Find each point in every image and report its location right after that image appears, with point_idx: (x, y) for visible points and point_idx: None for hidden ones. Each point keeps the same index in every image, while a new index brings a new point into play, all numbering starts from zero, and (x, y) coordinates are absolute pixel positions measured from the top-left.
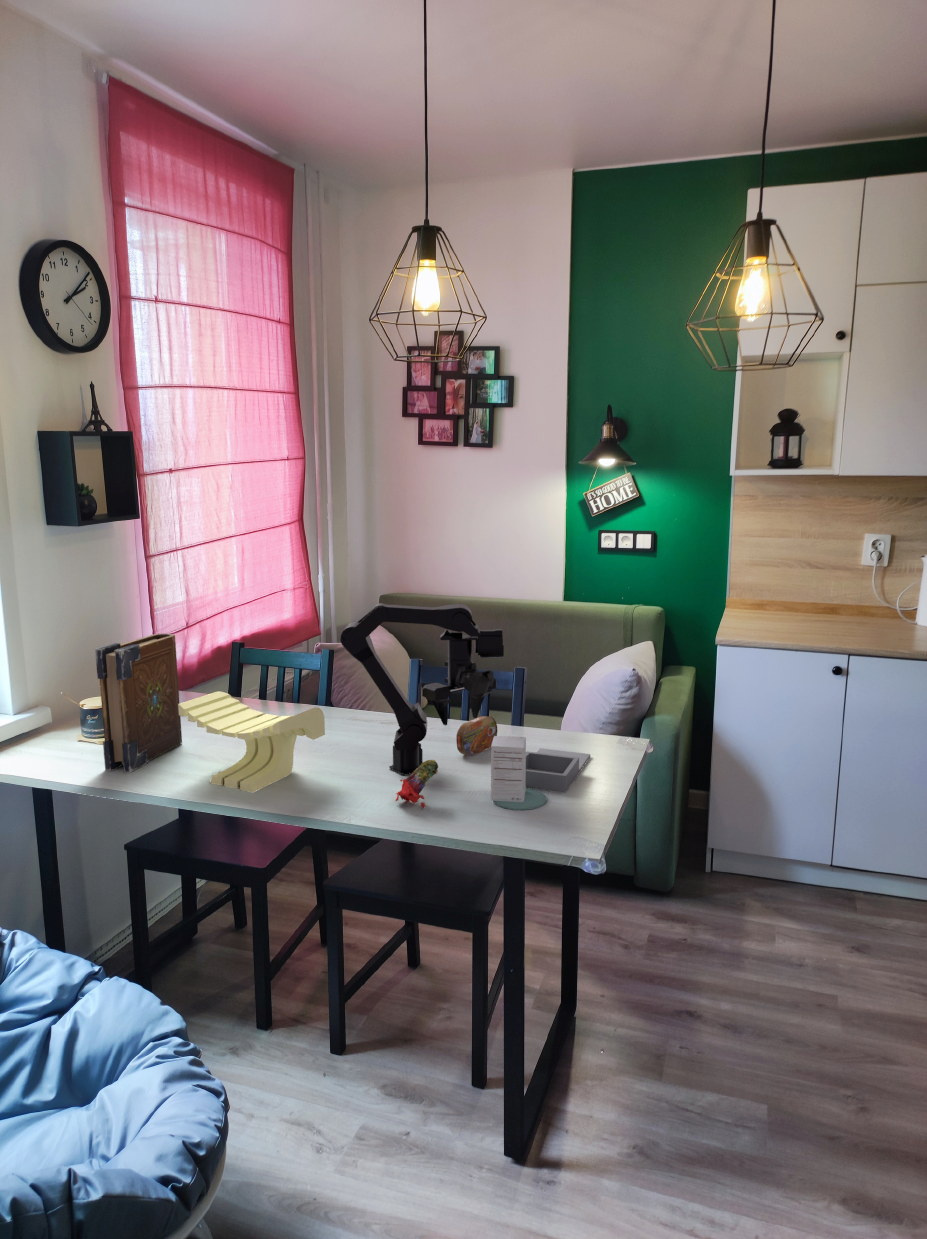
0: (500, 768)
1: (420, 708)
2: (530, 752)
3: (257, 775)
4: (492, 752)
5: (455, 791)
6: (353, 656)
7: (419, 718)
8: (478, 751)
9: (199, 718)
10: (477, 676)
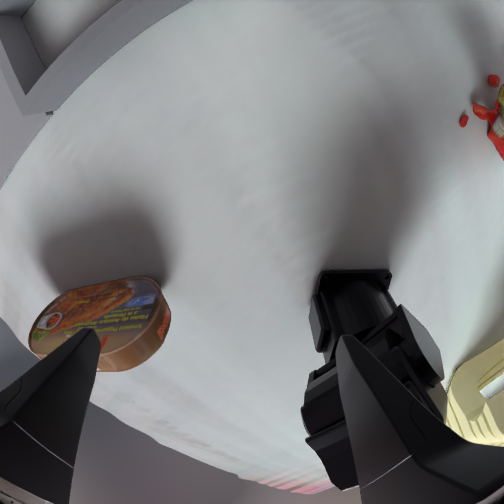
0: None
1: (345, 466)
2: (21, 100)
3: (499, 359)
4: None
5: (378, 75)
6: None
7: (427, 407)
8: (109, 285)
9: None
10: None
